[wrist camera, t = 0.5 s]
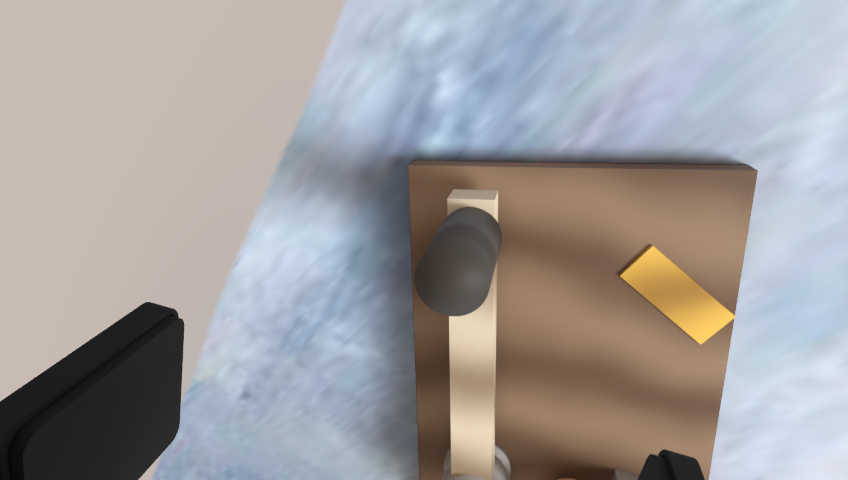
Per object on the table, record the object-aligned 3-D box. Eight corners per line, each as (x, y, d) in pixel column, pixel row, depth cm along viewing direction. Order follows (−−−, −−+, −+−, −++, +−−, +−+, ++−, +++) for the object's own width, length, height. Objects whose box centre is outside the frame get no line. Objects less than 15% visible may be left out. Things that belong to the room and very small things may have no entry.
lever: (506, 515, 38) (493, 638, 30) (446, 506, 39) (419, 624, 31) (514, 188, 31) (500, 238, 23) (440, 186, 32) (403, 234, 24)
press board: (689, 549, 39) (714, 643, 33) (425, 512, 42) (404, 590, 36) (748, 164, 30) (796, 195, 24) (413, 160, 34) (383, 185, 28)
